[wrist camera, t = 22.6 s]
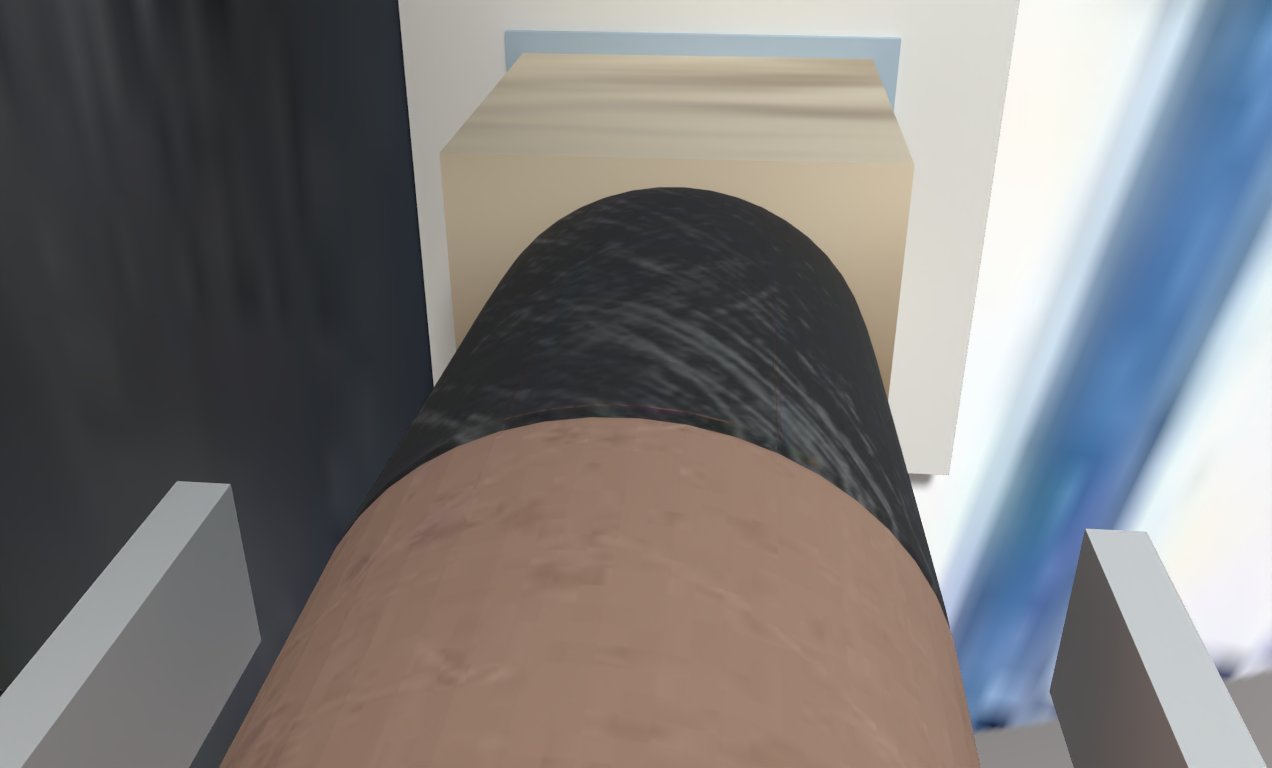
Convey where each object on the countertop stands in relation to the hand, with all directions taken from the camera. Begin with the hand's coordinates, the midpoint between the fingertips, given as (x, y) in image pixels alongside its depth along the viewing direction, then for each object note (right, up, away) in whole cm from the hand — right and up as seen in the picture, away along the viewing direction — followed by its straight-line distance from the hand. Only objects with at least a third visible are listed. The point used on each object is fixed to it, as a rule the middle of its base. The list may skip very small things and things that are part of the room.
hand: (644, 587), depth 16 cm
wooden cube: (+1, +7, +13) cm, 14 cm away
